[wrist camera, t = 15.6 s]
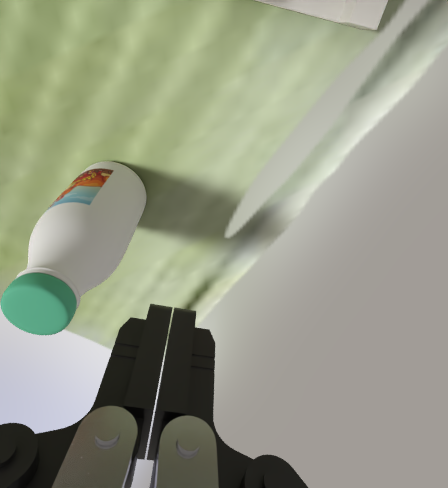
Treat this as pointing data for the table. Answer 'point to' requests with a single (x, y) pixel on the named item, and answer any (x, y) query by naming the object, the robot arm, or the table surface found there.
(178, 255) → the table surface
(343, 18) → the white trough
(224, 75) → the table surface
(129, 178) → the milk bottle
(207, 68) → the table surface
